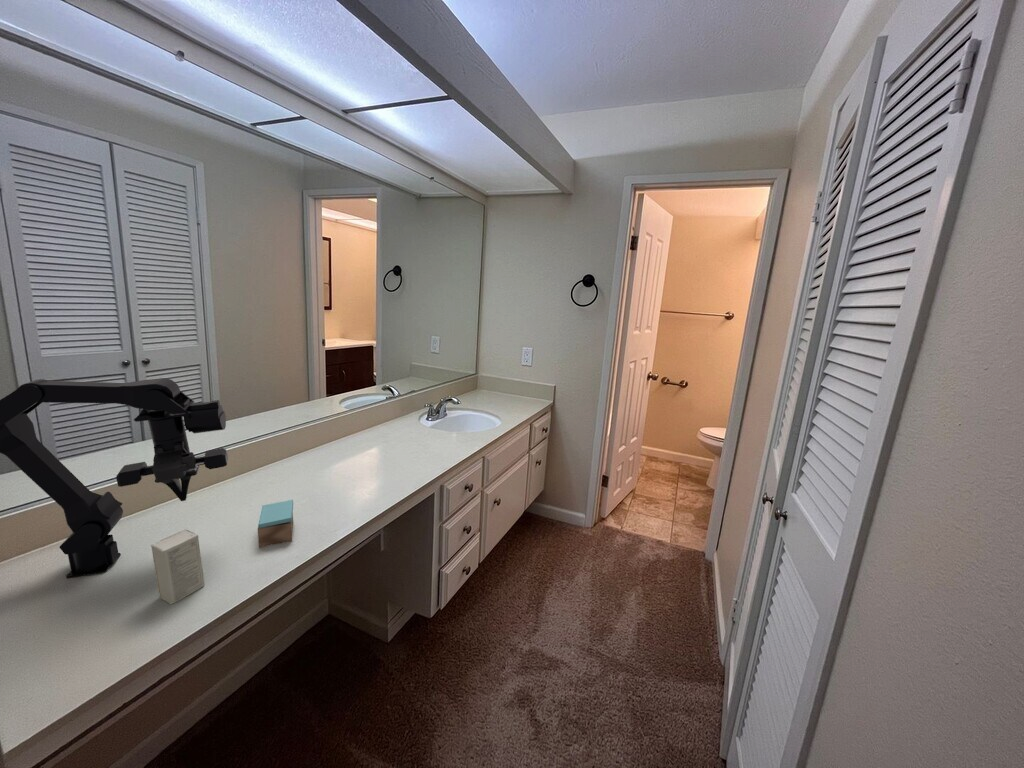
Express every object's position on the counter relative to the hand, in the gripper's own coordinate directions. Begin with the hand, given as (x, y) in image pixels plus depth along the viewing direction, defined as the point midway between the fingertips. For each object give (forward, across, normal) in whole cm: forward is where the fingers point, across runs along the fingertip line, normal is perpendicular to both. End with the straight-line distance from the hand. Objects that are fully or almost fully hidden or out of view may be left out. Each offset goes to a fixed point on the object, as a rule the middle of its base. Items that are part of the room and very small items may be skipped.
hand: (183, 500), depth 93 cm
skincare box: (+13, -1, -16) cm, 20 cm away
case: (+14, +17, -2) cm, 22 cm away
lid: (+9, +17, -2) cm, 20 cm away
